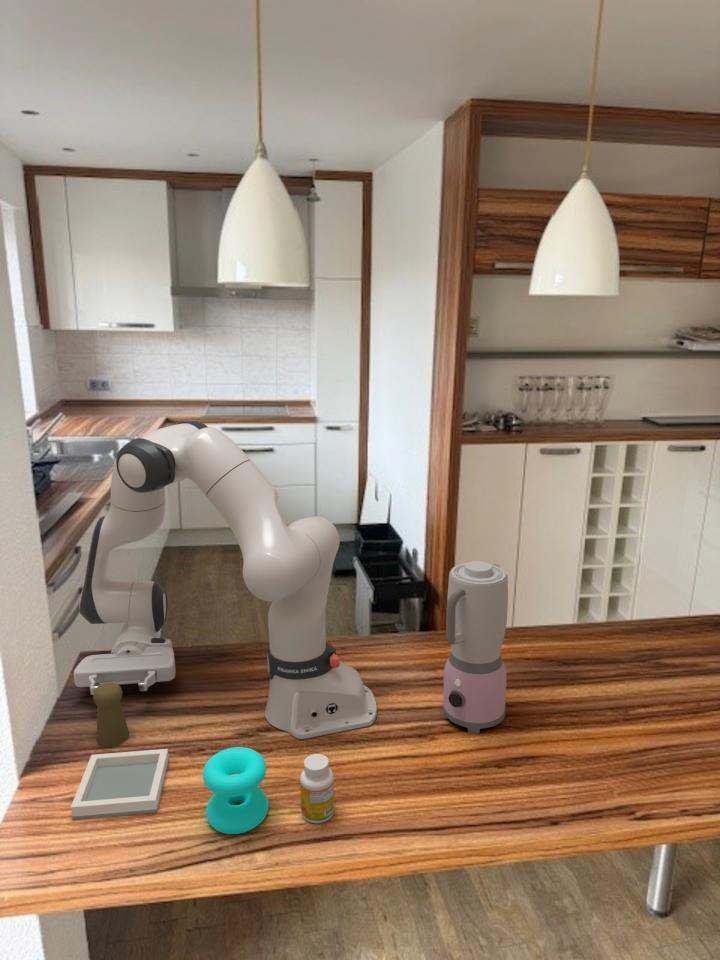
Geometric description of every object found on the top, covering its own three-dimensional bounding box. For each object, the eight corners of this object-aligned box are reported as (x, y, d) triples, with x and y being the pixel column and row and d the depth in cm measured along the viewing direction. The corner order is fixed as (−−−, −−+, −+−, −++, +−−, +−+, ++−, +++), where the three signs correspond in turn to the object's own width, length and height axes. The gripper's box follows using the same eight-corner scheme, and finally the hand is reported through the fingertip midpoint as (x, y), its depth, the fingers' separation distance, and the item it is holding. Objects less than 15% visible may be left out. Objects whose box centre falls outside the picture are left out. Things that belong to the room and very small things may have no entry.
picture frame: (168, 760, 130) (167, 748, 130) (156, 812, 117) (155, 800, 117) (93, 766, 129) (91, 754, 128) (72, 819, 116) (70, 807, 115)
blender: (466, 691, 151) (470, 549, 142) (517, 713, 143) (524, 564, 134) (420, 724, 140) (421, 572, 131) (472, 751, 132) (477, 590, 123)
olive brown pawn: (119, 749, 134) (113, 697, 131) (90, 745, 135) (83, 693, 132) (135, 729, 139) (129, 679, 136) (107, 726, 140) (100, 676, 137)
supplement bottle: (301, 802, 119) (299, 752, 117) (333, 799, 120) (332, 749, 117) (301, 825, 114) (299, 773, 111) (335, 823, 114) (333, 771, 112)
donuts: (269, 742, 119) (261, 783, 109) (272, 793, 121) (264, 837, 112) (209, 743, 119) (196, 784, 109) (213, 794, 121) (200, 838, 112)
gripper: (81, 645, 154) (62, 679, 140) (178, 638, 156) (168, 671, 142) (84, 671, 155) (66, 707, 142) (180, 664, 157) (171, 699, 144)
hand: (118, 689), depth 142 cm, fingers open, 8 cm apart
